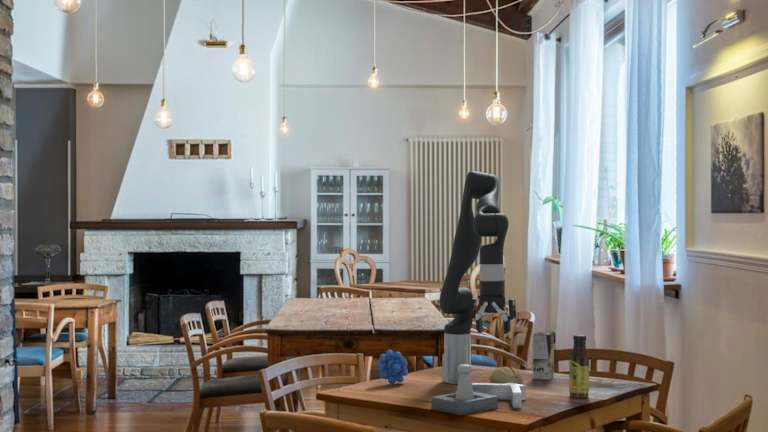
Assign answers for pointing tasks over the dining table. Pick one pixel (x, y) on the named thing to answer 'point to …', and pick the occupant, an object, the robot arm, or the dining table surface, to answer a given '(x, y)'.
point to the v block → (503, 391)
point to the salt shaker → (464, 383)
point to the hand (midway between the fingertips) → (493, 333)
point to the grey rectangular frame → (464, 403)
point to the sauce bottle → (579, 368)
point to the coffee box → (543, 355)
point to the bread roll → (506, 376)
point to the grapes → (392, 366)
